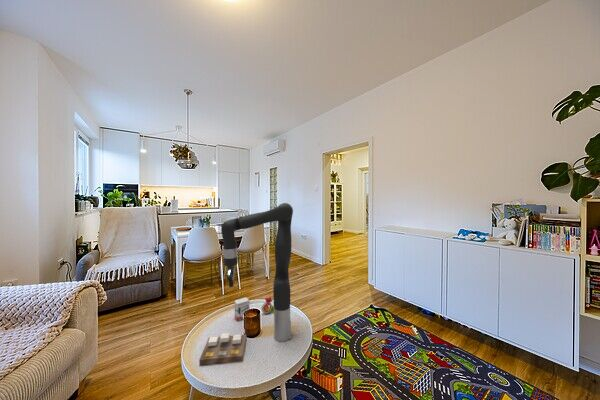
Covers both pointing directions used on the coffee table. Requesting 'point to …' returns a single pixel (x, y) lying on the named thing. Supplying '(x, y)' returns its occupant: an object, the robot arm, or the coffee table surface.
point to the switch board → (223, 352)
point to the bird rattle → (265, 306)
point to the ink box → (241, 308)
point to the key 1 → (213, 341)
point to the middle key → (225, 337)
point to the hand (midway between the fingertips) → (231, 286)
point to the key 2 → (236, 339)
